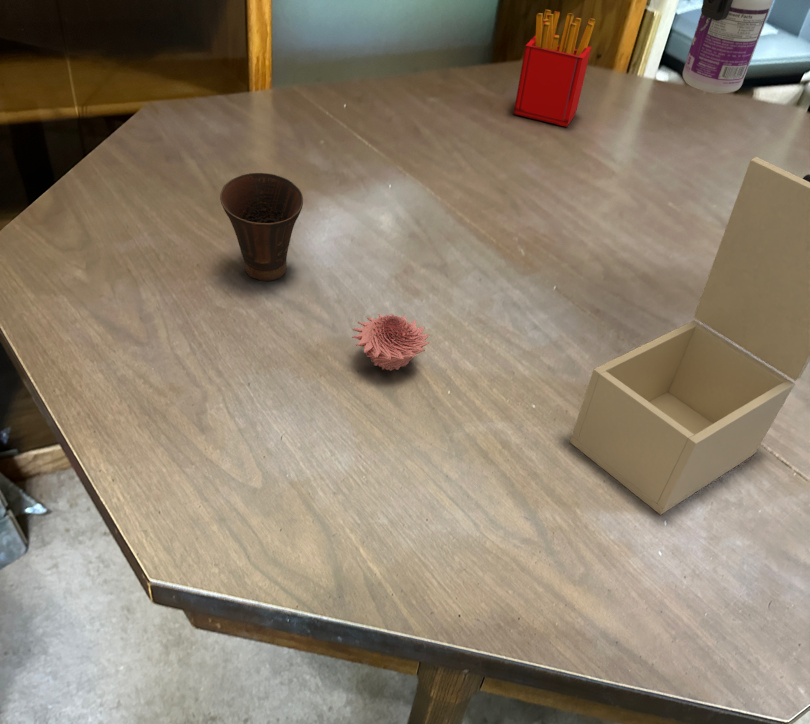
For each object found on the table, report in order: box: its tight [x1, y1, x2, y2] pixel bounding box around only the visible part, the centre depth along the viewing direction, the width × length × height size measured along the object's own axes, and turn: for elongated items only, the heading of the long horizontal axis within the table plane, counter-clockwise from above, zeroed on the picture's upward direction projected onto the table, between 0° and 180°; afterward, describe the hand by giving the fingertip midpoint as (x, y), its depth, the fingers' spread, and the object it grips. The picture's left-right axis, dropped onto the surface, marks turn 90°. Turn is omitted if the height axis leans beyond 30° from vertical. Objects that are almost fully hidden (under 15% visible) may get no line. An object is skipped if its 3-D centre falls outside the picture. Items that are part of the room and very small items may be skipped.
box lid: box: [693, 156, 810, 382], centre depth 67 cm, size 15×12×6 cm
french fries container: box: [513, 9, 597, 128], centre depth 123 cm, size 7×9×14 cm
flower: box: [351, 313, 430, 372], centre depth 79 cm, size 8×8×6 cm
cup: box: [219, 172, 304, 282], centre depth 86 cm, size 9×9×10 cm
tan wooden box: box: [569, 320, 796, 516], centre depth 72 cm, size 15×12×9 cm
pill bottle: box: [682, 0, 774, 95], centre depth 65 cm, size 5×5×10 cm
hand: (735, 12), depth 65 cm, fingers closed on pill bottle, 5 cm apart
